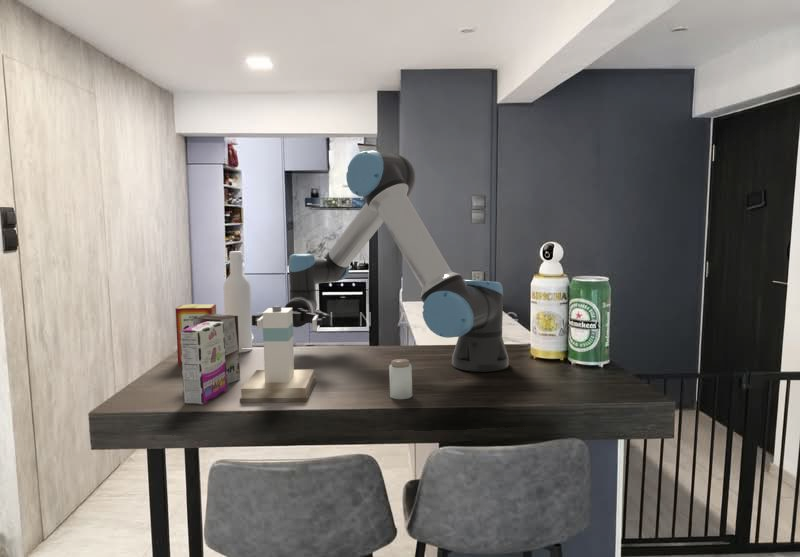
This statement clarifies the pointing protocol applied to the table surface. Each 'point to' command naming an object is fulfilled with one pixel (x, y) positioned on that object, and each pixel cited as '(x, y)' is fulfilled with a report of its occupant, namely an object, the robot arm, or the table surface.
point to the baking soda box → (190, 319)
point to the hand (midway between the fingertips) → (286, 325)
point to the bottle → (239, 300)
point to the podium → (278, 388)
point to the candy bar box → (203, 362)
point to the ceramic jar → (400, 379)
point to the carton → (278, 344)
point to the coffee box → (227, 342)
